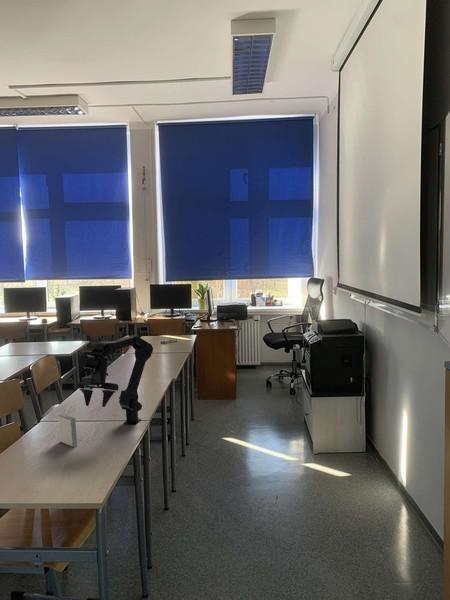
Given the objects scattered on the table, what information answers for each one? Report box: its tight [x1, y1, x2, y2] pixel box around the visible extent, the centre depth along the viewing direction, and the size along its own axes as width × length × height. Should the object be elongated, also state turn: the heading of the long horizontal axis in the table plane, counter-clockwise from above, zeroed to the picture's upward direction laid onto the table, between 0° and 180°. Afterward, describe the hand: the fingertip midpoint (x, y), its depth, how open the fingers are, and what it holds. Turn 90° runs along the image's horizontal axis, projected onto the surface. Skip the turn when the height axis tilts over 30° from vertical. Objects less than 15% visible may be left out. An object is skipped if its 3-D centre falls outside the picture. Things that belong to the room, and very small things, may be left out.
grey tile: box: [58, 413, 78, 448], centre depth 191 cm, size 2×10×12 cm, turn 51°
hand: (95, 406), depth 195 cm, fingers open, 9 cm apart
